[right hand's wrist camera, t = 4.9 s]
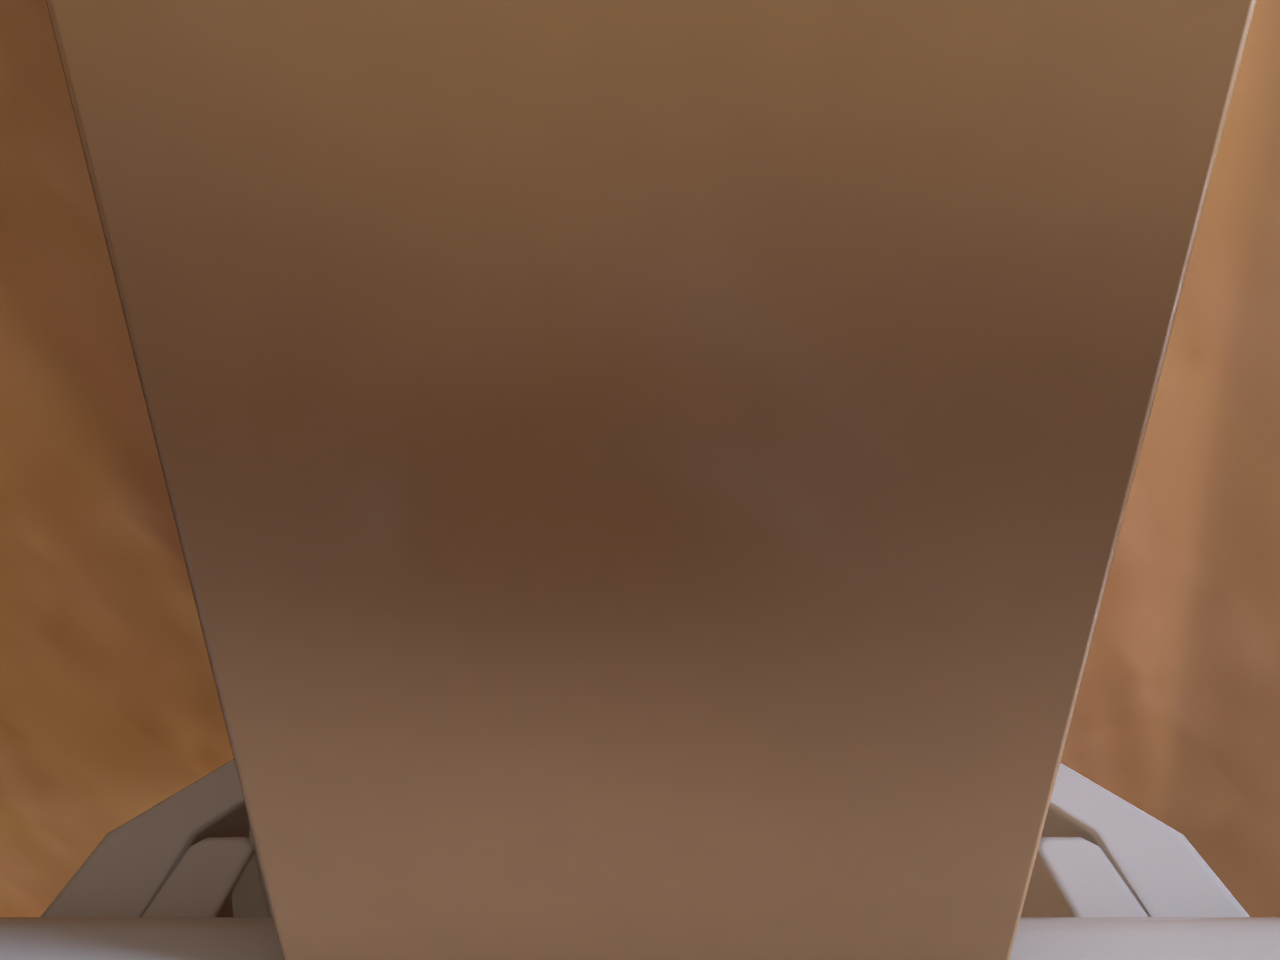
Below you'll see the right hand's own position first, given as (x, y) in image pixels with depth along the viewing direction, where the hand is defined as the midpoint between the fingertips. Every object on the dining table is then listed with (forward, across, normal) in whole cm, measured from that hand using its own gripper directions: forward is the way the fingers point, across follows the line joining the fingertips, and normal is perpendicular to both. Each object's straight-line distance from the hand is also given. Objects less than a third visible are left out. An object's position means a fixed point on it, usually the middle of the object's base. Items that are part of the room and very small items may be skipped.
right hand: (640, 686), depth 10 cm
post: (+3, 0, -29) cm, 29 cm away
